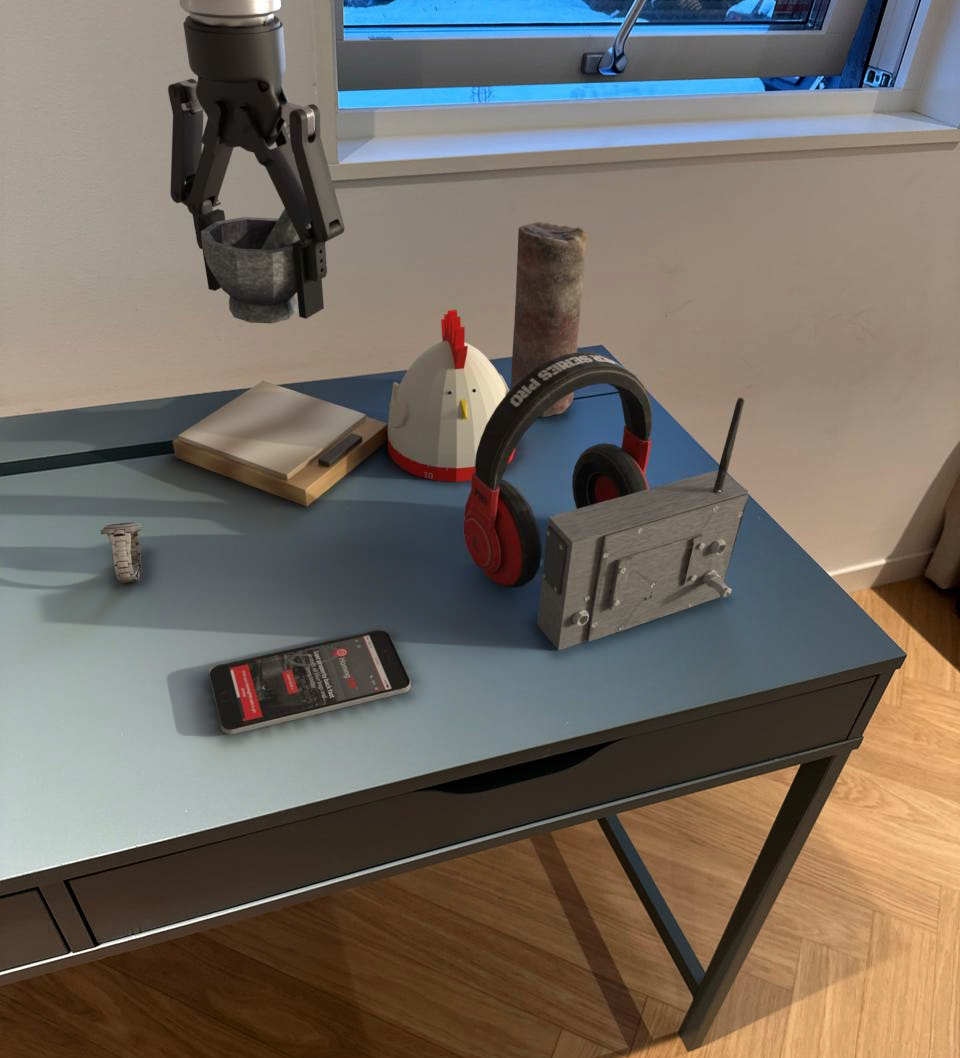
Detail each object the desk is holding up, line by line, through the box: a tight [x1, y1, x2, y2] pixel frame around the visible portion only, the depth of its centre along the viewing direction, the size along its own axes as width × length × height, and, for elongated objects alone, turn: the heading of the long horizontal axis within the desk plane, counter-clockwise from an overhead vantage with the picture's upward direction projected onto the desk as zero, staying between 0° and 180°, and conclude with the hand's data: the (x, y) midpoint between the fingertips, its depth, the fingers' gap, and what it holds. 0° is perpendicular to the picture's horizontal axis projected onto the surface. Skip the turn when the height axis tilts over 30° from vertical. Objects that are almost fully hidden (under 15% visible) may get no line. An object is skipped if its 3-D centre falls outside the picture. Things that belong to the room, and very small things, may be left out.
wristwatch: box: [100, 521, 143, 584], centre depth 83 cm, size 4×6×5 cm, turn 12°
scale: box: [172, 380, 388, 507], centre depth 100 cm, size 17×15×3 cm
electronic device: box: [536, 397, 749, 651], centre depth 76 cm, size 17×7×20 cm, turn 117°
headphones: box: [462, 351, 653, 589], centre depth 82 cm, size 18×10×20 cm, turn 122°
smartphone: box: [208, 629, 412, 735], centre depth 75 cm, size 7×1×15 cm
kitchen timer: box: [387, 309, 516, 483], centre depth 97 cm, size 14×14×15 cm
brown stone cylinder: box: [510, 221, 588, 418], centre depth 103 cm, size 8×7×20 cm
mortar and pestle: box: [201, 208, 311, 324], centre depth 84 cm, size 11×9×12 cm
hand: (265, 298), depth 87 cm, fingers closed on mortar and pestle, 10 cm apart
